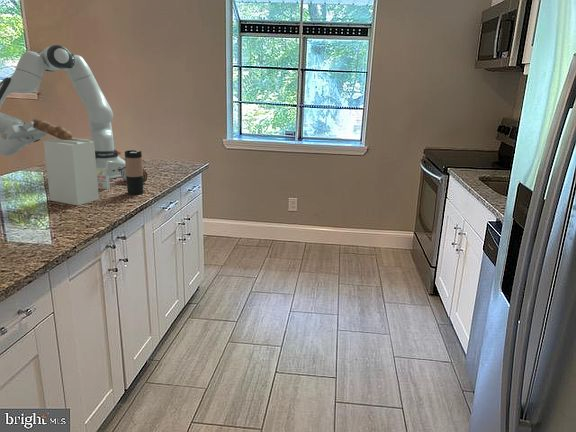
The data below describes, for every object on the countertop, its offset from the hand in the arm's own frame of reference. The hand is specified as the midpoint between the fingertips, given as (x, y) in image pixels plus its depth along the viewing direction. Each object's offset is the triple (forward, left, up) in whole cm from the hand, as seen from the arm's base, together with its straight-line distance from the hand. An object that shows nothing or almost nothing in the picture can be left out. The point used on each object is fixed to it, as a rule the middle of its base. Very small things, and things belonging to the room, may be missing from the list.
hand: (39, 122), depth 194 cm
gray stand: (-8, +14, -33) cm, 36 cm away
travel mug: (-35, +15, -33) cm, 50 cm away
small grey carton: (-24, -1, -33) cm, 41 cm away
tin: (-42, -6, -33) cm, 54 cm away
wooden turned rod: (-4, +6, -5) cm, 9 cm away
